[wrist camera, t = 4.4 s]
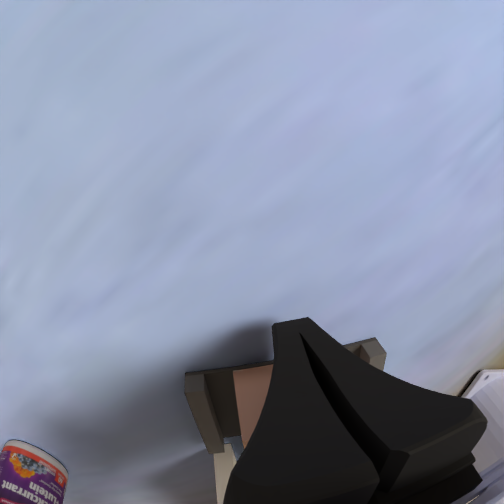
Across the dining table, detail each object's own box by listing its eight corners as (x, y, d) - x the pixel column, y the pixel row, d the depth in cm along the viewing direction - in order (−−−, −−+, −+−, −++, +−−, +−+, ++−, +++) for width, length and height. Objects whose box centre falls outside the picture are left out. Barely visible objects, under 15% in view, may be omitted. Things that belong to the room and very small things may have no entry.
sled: (340, 349, 13) (389, 439, 8) (318, 511, 21) (331, 553, 16) (232, 370, 12) (247, 475, 8) (268, 521, 20) (277, 565, 16)
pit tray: (375, 337, 13) (386, 353, 12) (363, 405, 15) (371, 420, 14) (185, 372, 13) (184, 392, 12) (208, 436, 15) (209, 454, 14)
